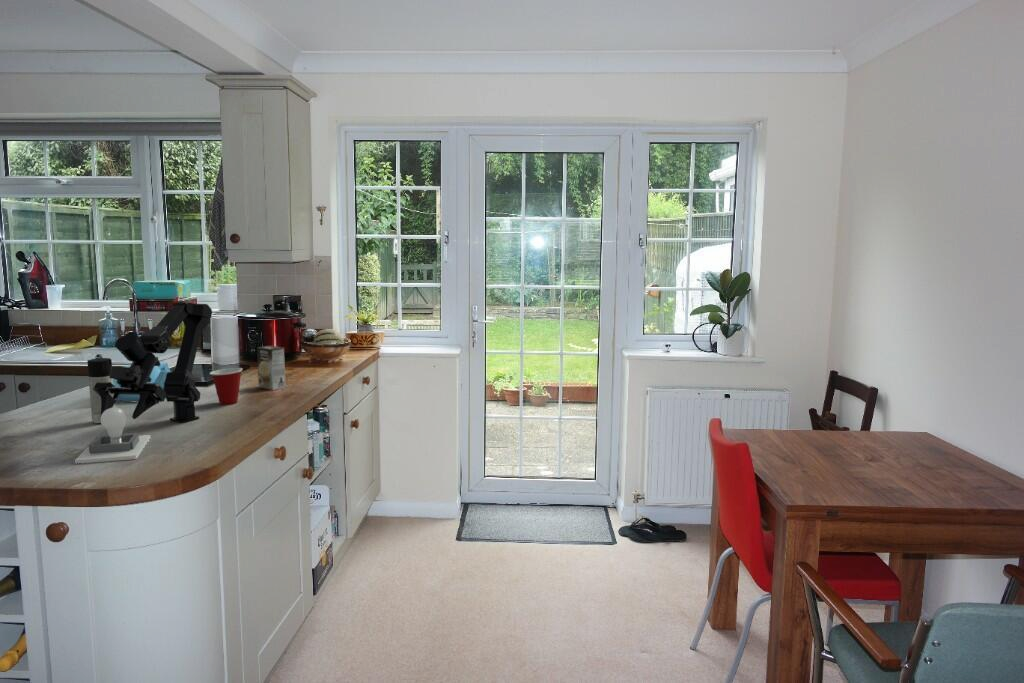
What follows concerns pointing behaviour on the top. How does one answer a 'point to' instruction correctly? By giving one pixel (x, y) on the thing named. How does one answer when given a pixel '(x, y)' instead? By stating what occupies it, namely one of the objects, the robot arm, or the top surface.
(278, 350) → the coffee box
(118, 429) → the lightbulb
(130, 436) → the bulb holder
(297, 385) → the top surface
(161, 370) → the teapot
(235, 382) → the plastic cup
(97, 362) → the spray can
